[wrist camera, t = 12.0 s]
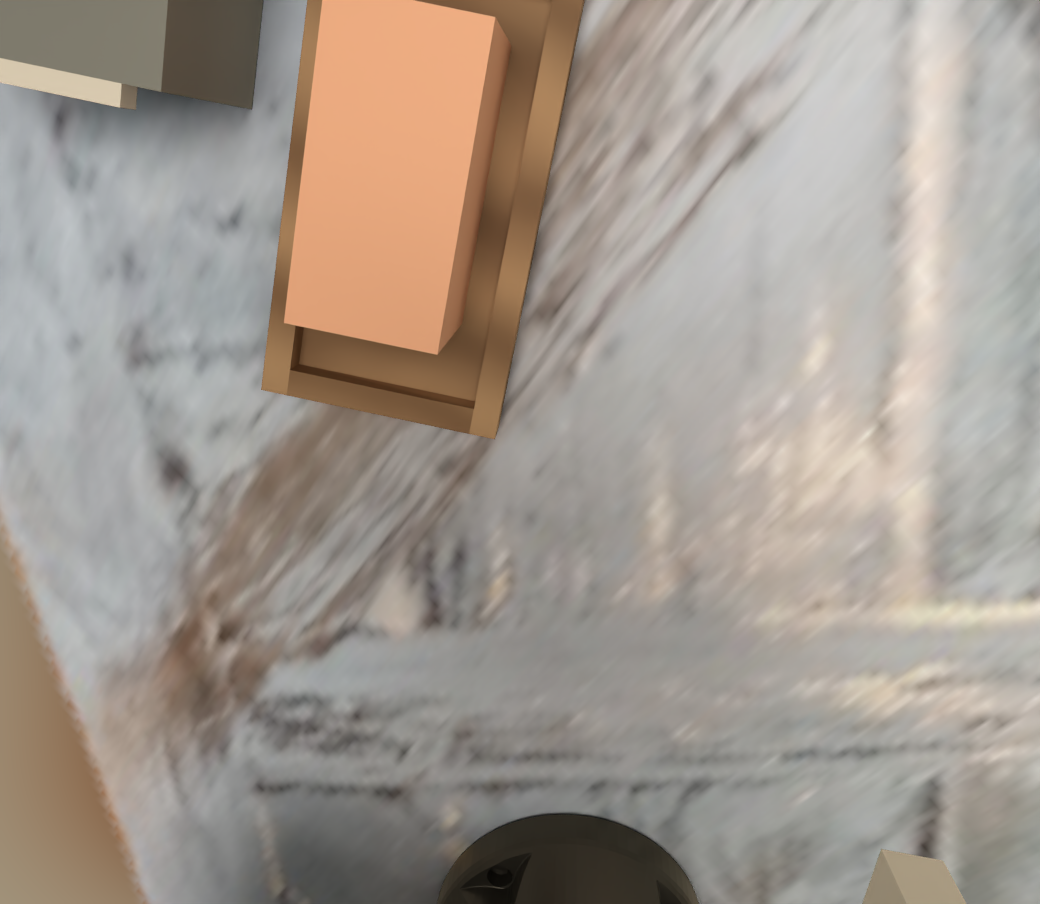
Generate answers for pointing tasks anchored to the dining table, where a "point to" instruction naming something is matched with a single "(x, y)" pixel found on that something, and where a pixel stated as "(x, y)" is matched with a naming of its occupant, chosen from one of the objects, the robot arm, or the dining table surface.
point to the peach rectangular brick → (395, 170)
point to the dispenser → (132, 48)
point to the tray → (497, 259)
